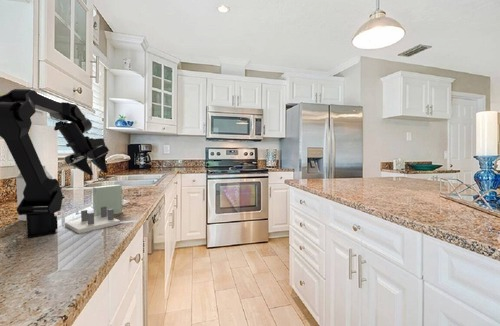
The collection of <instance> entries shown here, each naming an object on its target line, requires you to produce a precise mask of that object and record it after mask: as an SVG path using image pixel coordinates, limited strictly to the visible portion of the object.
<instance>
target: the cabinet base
mask: <svg viewBox="0 0 500 326" xmlns="http://www.w3.org/2000/svg"><path fill="white" fill-rule="evenodd" d="M116 225H121V220H120V219H117V218H115V214H114V209H108V216H107V207H101V215H99V216H94V211H93V212H88V210H87V209H83V210H80V218H79V219H76V220H75V219H74V220H70V221H65V222H64V226H65V227H66V228H67V229H70V230H72V231H74V232H75V233H77V234H78V233H79V234H82V233H81V232H83V233H87V231H88V232H91V230H92V231H96V230H99V229H103V228H109V227H112V226H116Z"/></svg>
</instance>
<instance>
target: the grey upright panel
mask: <svg viewBox="0 0 500 326" xmlns="http://www.w3.org/2000/svg"><path fill="white" fill-rule="evenodd" d="M122 194H123V189H122V185H121V184H108V185H101V186H93V187H92V201H93V202H92V203H93V207H92V208H93V213H94V216H99V215H101V207H107V216H108V209H114V215H117V214H122V213H123V197H122V196H123V195H122Z"/></svg>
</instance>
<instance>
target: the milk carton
mask: <svg viewBox="0 0 500 326" xmlns="http://www.w3.org/2000/svg"><path fill="white" fill-rule="evenodd" d="M42 167H43V169H44V171H45V173H46V176H47V178H49V179H53V176H52V174H51V173H50V172H49V171H48V170H47V169H46V165H42ZM15 182H16V198H17V200H16V202H17V207H18V206H19V204H20V203H21V201H22V200H23V198H24V195H23V191H24V188H25V186H26V183H25V181H24V179H23V177H22V175H21V173H20V172H19V174H18V175H17V176H16V178H15ZM42 207H48V206H42ZM17 217H18V221H24V222H27V219H26V215H19V214H18V213H17Z"/></svg>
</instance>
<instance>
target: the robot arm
mask: <svg viewBox="0 0 500 326" xmlns="http://www.w3.org/2000/svg"><path fill="white" fill-rule="evenodd" d="M36 110H39V111H42V112H45V113H48V114H49V116H50V117H51V118H53V119H55V120H58V121H57V122H55V123H54V124H55V125H54V128H53V129H54V131H56V132H57V131H59V133H60V134H61V136H63V138H64V140H65V141H66V142H67V143H66V144H65V146H66V147H67V148H69V147H70V148H71V149H70V150H72V151H73V153H71V154H68V155H66V156H64V157H65V158H64V162H65V163H66V164H67V165H70V166H72V167H74V168H75V169H78V170H80V171H82V172H83V173H85V174H87V175H89V176H93V175H94V172H93V171H92V169H91V167H90V165H89V163H88V159H90V162H91V163H92V164H93V165H94V166H96V167H97V168H98V170H100V171H101V172H103V173H104V174H106V173H108V171H109V170H108V166H107V163H106V156H107V155H108V153H109V152H110V149H109V148H108V146H107V145H106V143H105V139H104V137H102V138H99V137H98V138H92V137H91V138H90V136H88V135H86V136H85V134H84V133H87V132H88V131H90V130H91V129H92V127H93V123H92V122H91V120H90V119H89V118H87V117H86V115H85V114H84V113H83V111H81V109H80V108H79V107H78V105H77V104H76V103H74V102H66V101H65V102H64V101H63V102H62V101H58V100H56V99H53V98H52V97H48V96H46V95H43V94H41V93H38V92H37V91H36V90H33V89H31V88H30V89H29V88H14V89H11V90H9V92H7V93H5V94H3V95H0V137H1V138H2V139H3V140H4V142H5V144H6V147H7V148H8V150H9V152H10V155H11V156H12V159H13V160H14V162H15V165H16V166H17V169H18V171H19V174H20V173H21V175H22V177H23V179H24V181H25V183H26V186H25V188H24V191H23V195H24V198H23V200H22V201H21V203H20V204H19V206H18V205H17V208H16V213H17V215H18V214H19V215H26V219H27V221H26V238H27V239H29V238H34V237H40V236H41V237H42V236H46V235H51V234H56V233H57V230H58V228H59V227H58V216H57V214H55V213H57V212H60V211H61V210H62V203H63V198H64V195H63V192H62V187H61V186H60V183H59V181H58V179H57V178H52V179H49V178H47V176H46V173H45V171H44V169H43V167H42V166H43V164H42V162H41V160H40V157H39V156H38V153H37V151H36V148H35V146H34V144H33V141H32V139H31V136H30V133H29V132H30V130H31V127H32V118H31V117H32V116H34V115H35V113H36V112H37V111H36ZM42 206H48V207H42Z"/></svg>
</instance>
